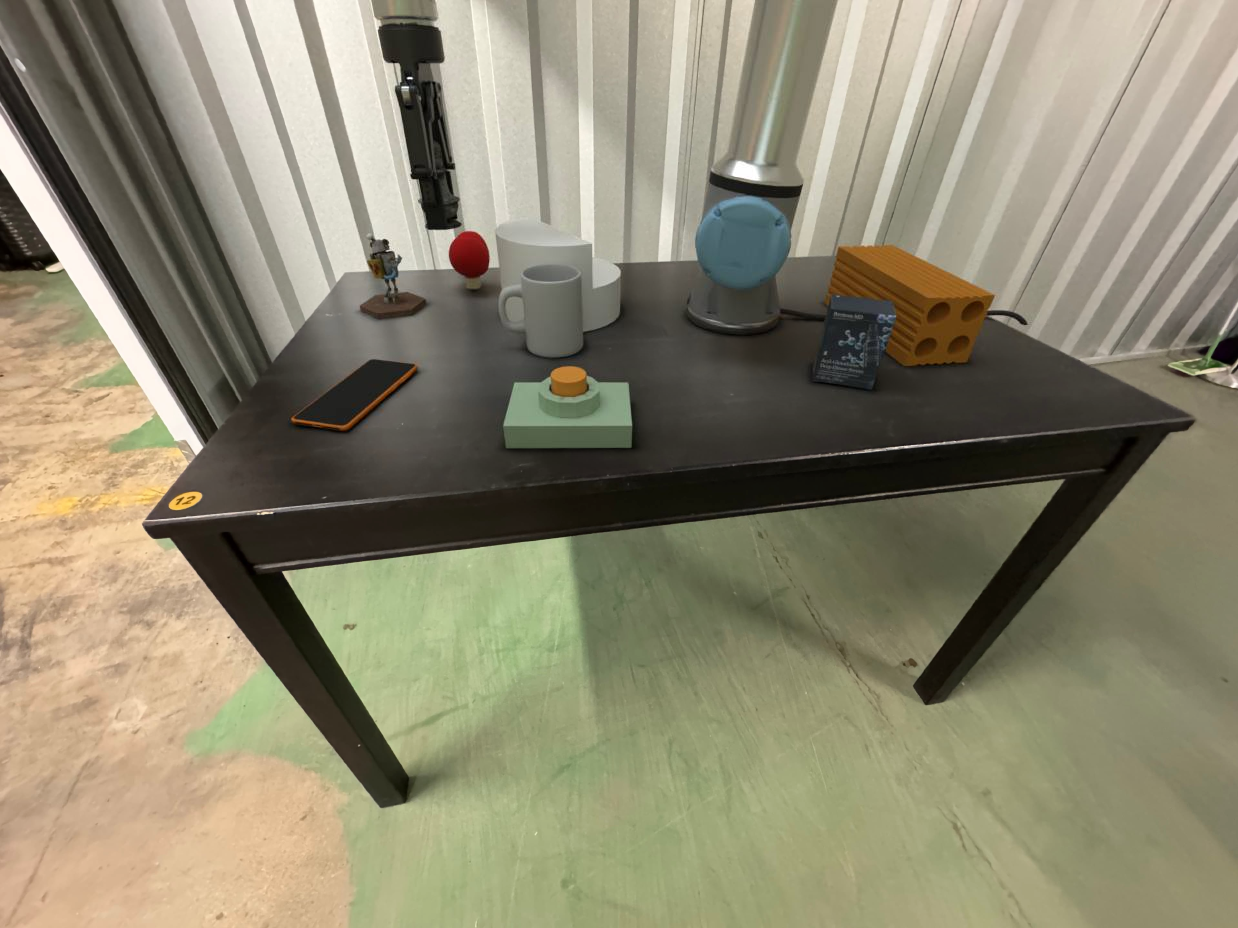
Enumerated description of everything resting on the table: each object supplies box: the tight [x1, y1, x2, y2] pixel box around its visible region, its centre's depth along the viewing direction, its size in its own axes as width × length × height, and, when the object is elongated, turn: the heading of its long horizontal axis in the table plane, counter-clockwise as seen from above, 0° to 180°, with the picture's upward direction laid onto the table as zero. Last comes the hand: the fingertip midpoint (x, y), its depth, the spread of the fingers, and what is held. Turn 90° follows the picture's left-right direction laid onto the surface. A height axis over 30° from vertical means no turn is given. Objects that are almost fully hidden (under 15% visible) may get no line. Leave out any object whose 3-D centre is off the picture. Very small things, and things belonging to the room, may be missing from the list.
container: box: [494, 216, 622, 333], centre depth 91 cm, size 20×20×13 cm
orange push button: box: [550, 365, 588, 397], centre depth 62 cm, size 4×4×2 cm
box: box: [812, 294, 896, 391], centre depth 73 cm, size 8×6×11 cm
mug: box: [498, 264, 584, 359], centre depth 80 cm, size 12×8×11 cm
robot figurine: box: [359, 233, 427, 320], centre depth 91 cm, size 11×9×12 cm
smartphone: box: [290, 358, 419, 431], centre depth 70 cm, size 8×17×1 cm, turn 167°
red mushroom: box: [448, 230, 491, 292], centre depth 100 cm, size 9×7×10 cm
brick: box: [824, 244, 996, 367], centre depth 87 cm, size 26×10×10 cm, turn 9°
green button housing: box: [502, 375, 633, 449], centre depth 64 cm, size 14×10×5 cm
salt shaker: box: [417, 140, 463, 231], centre depth 78 cm, size 6×6×12 cm
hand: (443, 223), depth 81 cm, fingers closed on salt shaker, 6 cm apart
